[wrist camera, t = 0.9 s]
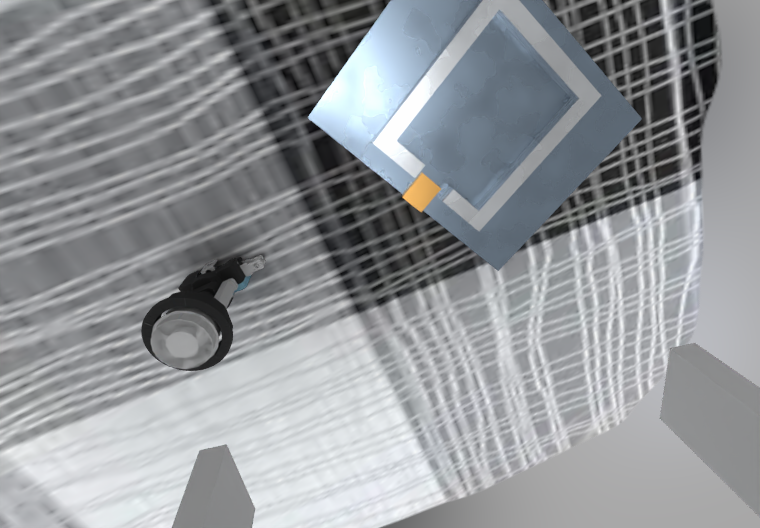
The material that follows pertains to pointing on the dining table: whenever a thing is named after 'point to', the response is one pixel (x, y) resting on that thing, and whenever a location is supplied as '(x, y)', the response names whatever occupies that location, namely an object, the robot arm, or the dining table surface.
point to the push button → (198, 316)
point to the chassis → (476, 114)
